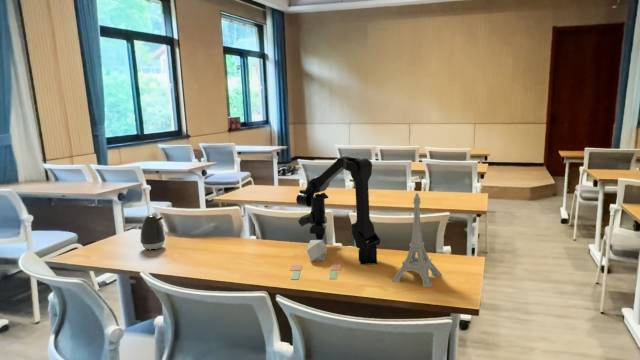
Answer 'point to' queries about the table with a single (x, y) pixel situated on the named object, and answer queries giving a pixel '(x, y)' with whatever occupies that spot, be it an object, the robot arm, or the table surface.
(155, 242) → the pump dispenser
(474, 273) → the table surface
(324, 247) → the die
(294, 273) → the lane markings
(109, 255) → the table surface
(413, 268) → the eiffel tower
